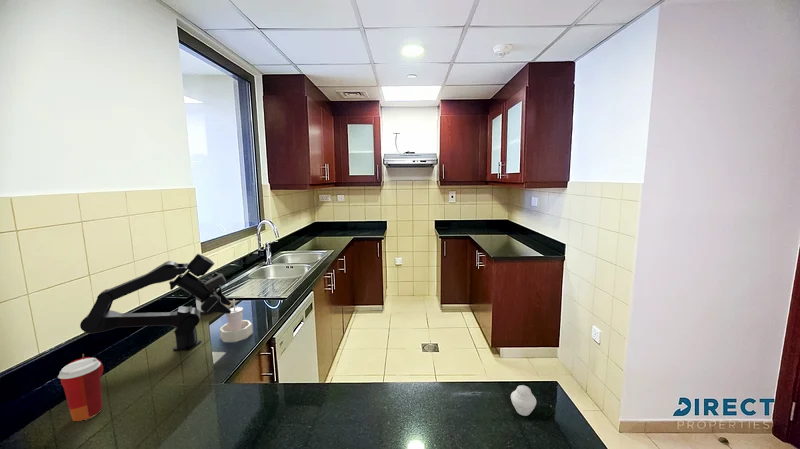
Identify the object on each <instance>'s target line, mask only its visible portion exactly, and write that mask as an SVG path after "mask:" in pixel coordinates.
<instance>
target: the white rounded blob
mask: <svg viewBox="0 0 800 449" xmlns="http://www.w3.org/2000/svg"><path fill="white" fill-rule="evenodd" d="M531 390H532V389H531V388H530V387H529V386H526V385H524V384H522V385H518V386H517V387H516V389H515V390H513V391H512V392H511V394H510V399H511V404H512V405H513V407H514V409H515V411H516V413H517V414H519V415H521V416H524V417H526V416H530V414H531V413H532V412H533V410H534V409H535V408H536V406H537V399H536V397H535V396H534V394H533V393H532V391H531Z"/></svg>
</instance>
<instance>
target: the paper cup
mask: <svg viewBox="0 0 800 449" xmlns="http://www.w3.org/2000/svg"><path fill="white" fill-rule="evenodd" d="M97 359H98V358H96V357H93V358H86V359H82V360H78V361H75V362H73V363H71V362H69V363H70V364H69V363H68V364H66V365H65V366H64V367H63V368H61V370H60V371H59V374H58V375H57V378H58V379H60V381H61V380H62V384H63V386H62V387H63V391H64V394H65V398H66V401H67V402H66V403H67V407H68V409H69V413H70V417H71V419H72V421H73V422H74V421H81V420H85V419H88V418H90V417H92V416H93V415H95V414H97V413H98V412H99V411H100V410H101V409H102V410H103V398H102V397H103V395H102V381H101V378H100V365H101V362H102V361H101V362H99V361H98V360H97ZM62 384H61V385H62Z"/></svg>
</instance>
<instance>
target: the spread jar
mask: <svg viewBox="0 0 800 449" xmlns="http://www.w3.org/2000/svg"><path fill="white" fill-rule="evenodd" d="M195 304H196V308H197V309H198V310H199V311H200V314H203V315H208V314H214V313H215V312H206V313H205V312H204V311H202V310H201V304H202V303H201V302H200V299H198V298H197V297H195Z"/></svg>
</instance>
